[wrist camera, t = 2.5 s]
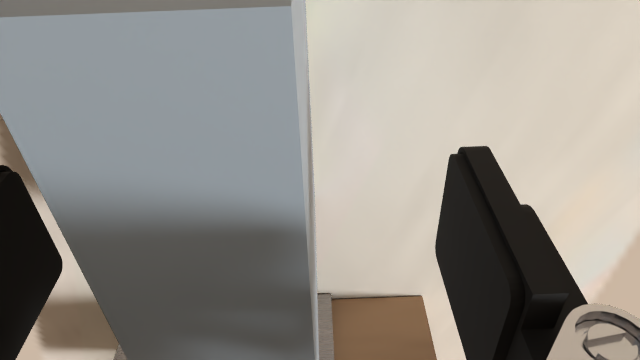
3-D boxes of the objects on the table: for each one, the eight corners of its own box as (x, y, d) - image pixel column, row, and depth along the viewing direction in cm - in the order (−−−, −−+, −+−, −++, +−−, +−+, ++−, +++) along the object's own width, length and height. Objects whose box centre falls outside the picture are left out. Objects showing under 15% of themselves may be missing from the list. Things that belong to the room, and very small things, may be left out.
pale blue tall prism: (126, -123, 11) (-161, 24, 4) (298, -130, 11) (291, 5, 4) (204, 199, 18) (138, 472, 11) (314, 195, 18) (321, 465, 11)
